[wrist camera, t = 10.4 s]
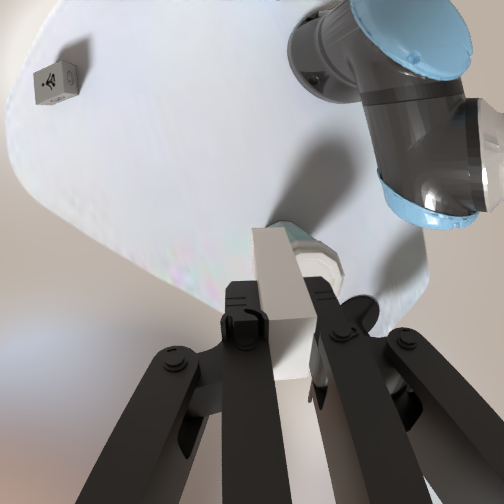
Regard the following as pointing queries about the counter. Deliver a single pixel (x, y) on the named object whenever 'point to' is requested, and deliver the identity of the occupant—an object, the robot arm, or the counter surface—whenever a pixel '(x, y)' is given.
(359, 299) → the wine glass
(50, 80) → the dice cube
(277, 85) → the counter surface
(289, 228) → the disposable coffee cup
